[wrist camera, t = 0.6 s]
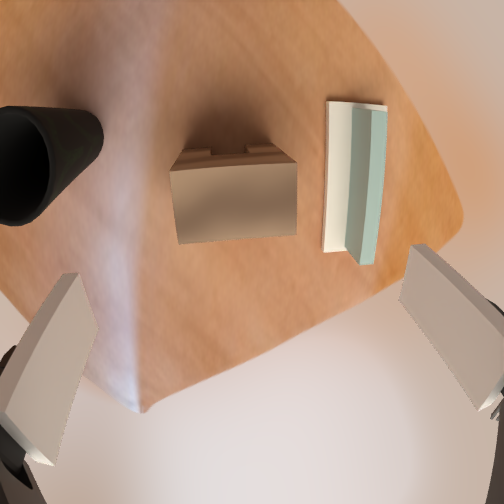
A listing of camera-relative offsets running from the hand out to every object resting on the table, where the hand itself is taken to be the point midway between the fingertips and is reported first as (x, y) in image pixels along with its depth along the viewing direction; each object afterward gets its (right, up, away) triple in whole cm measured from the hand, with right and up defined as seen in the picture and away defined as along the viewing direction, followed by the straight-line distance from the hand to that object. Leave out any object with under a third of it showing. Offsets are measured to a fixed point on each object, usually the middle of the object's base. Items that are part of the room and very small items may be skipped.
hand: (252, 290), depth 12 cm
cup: (-16, +12, +13) cm, 24 cm away
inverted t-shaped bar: (+10, +9, +18) cm, 22 cm away
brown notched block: (-2, +9, +16) cm, 19 cm away
